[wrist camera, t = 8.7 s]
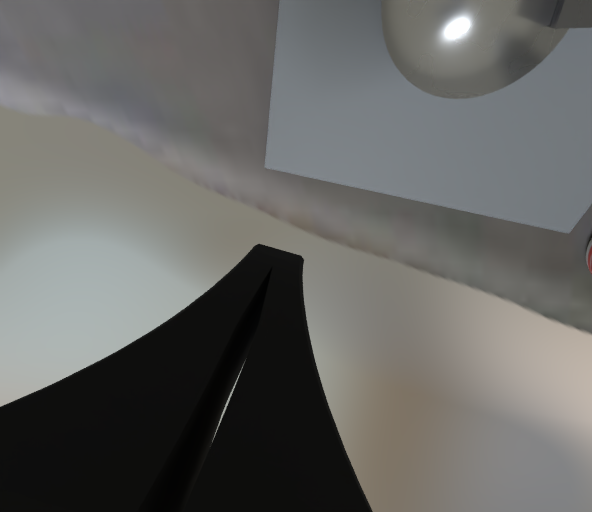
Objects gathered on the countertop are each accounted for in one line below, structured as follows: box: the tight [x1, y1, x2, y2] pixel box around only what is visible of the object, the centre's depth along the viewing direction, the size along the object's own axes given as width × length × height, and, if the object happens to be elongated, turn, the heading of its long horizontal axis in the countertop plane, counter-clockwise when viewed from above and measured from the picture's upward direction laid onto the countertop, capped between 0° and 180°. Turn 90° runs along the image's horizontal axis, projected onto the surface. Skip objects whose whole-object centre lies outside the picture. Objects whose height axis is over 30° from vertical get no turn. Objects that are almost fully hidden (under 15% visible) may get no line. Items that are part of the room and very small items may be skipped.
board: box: [265, 0, 592, 233], centre depth 13 cm, size 15×15×1 cm
